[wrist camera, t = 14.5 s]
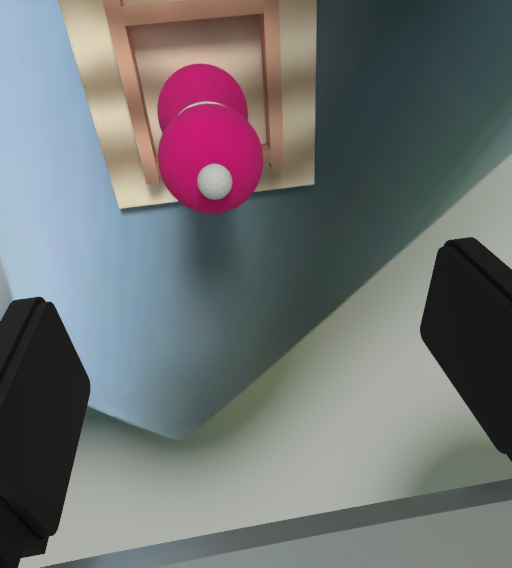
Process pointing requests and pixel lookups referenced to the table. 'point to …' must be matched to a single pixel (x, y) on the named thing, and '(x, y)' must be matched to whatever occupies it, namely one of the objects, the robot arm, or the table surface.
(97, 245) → the table surface
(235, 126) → the pepper mill
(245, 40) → the board
